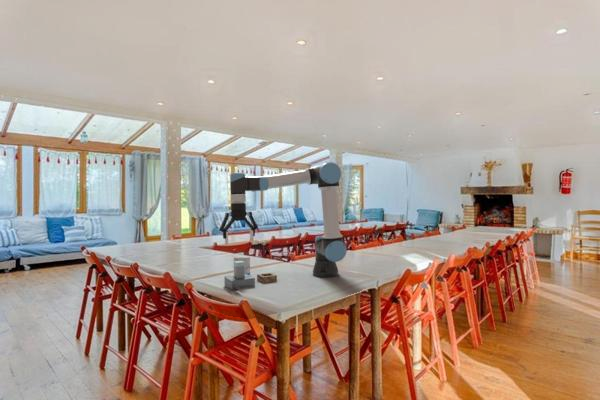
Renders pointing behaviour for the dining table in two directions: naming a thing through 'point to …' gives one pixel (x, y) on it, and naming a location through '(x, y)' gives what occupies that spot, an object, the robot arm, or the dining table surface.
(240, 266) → the plug
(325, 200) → the robot arm
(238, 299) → the dining table surface
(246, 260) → the ink box
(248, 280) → the block
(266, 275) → the brown hollow block
